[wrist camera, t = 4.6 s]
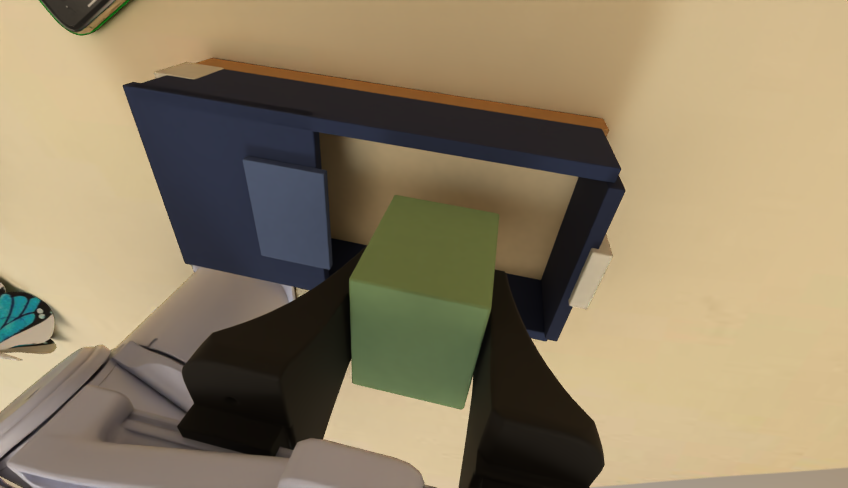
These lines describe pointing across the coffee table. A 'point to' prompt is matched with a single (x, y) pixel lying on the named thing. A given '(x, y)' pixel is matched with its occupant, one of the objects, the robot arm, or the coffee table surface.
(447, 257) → the sponge block
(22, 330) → the decorative butterfly
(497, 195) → the navy open tray
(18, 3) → the coffee table surface
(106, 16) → the smartphone
